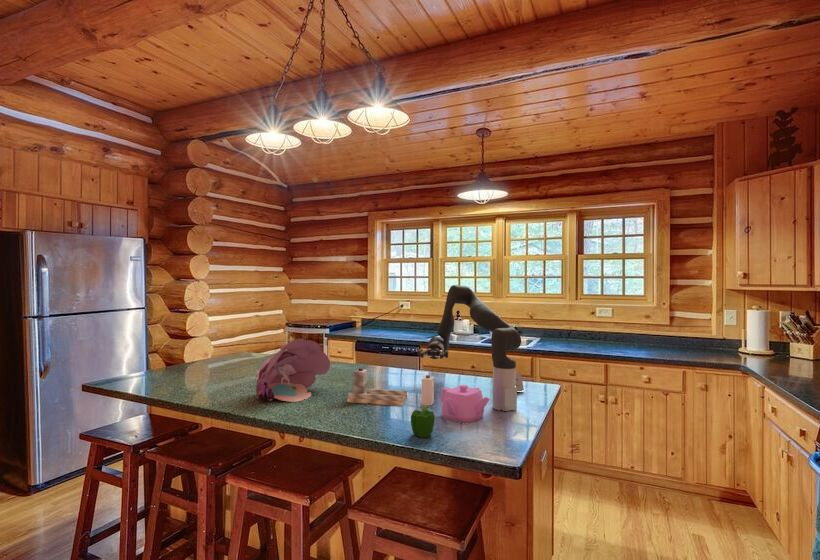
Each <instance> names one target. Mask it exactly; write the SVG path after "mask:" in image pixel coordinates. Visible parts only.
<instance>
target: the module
mask: <svg viewBox="0 0 820 560" xmlns="http://www.w3.org/2000/svg"><path fill="white" fill-rule="evenodd" d="M434 393H435V376H431V375H430V374H428V375H427V374H426V375H423V377H422V378H421V406H425V405H432V404H434V402H435V398H434V397H435V396H434V395H435V394H434ZM432 406H433V405H432Z"/></svg>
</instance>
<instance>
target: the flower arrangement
mask: <svg viewBox="0 0 820 560" xmlns="http://www.w3.org/2000/svg"><path fill="white" fill-rule="evenodd" d="M278 349H279V351H278V352H277V353H276V354H274V355H273V356H272V357H271V358H268V359H265V361H264V362H263V363H262V365H261V366H260V367H261V368H260V369H259V370H258V371H256V376H255V377H256V378H257V379H256V387H255V390H256V391H255V393H256V397H257V398H258V399H263V400H267V401H270V402H271V401H273V400H274V399H277V400H279V401H284V402H291V403H293V402H295V403H298V402H301V401H304V399H305V400H307V399H309V398H310V397H311V396H312V392H311V391H309V392H308V389H309V388H310V387H312V386H313V385H314V384H315V383H316V379H317V377H316V376H321V375H325V374H327V373H328V372H329V370H330V369H331V361H330V358H329V357H328V355H327V353H326V352H324V351H323V350H322V348H321V346H320V344H319V343H318V342H316V341H315V340H310V339H307V340H305V339H304V338H297V339H292V340H291V341H289V342H288V343H286V344H284V345H283V346H281V347H279V348H278Z"/></svg>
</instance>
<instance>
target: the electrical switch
mask: <svg viewBox="0 0 820 560" xmlns="http://www.w3.org/2000/svg"><path fill="white" fill-rule="evenodd" d="M516 387H517V391H522V390H524V391H525V388H524V384H523V377H522V373H521V372H520V371H519V372H516Z"/></svg>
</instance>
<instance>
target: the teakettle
mask: <svg viewBox="0 0 820 560" xmlns="http://www.w3.org/2000/svg"><path fill="white" fill-rule="evenodd" d="M488 402H490V398H489V397H487V396H485V397H483V393H482V390H481V389H480V388H479V387H476V386H473V387H468V385H467V384H460V385H458V386H455V387H452V388H448V387H444V388H441V396H440V403H442V405H441V407H442V408H441V414H442V419H445V420H446V421H447V420H448V421H451V422H454V421H455V423H458V422H459V423H460V424H463V423H464V424H463V425H467V423H468V424H472V423H474V422H476V421H478V420H480V419H481V418H483V417H484V414H485V413H484V412H485V407H486V406H487V404H488ZM473 421H474V422H473Z"/></svg>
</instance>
